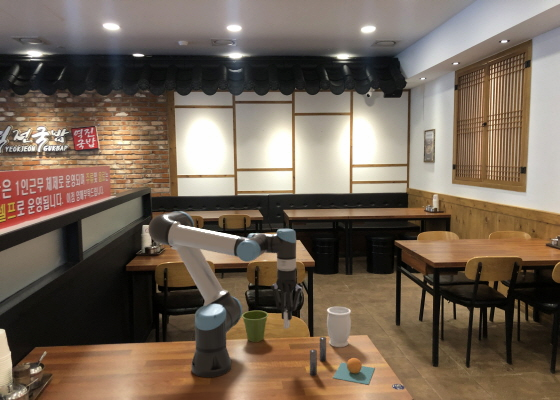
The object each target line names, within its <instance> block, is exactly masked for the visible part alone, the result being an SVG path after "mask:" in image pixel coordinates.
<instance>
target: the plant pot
mask: <svg viewBox="0 0 560 400" xmlns="http://www.w3.org/2000/svg"><path fill="white" fill-rule="evenodd" d="M268 316H269V313H268V312H266V311H263V310H250V311H246V312H242V316H241V318H242V319H243V323H244V327H245V331H246V338H247V340H248V342H251V343H259V342H261V341H263V340H264V338H265V332H266V324H267V320H268Z"/></svg>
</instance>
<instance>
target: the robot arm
mask: <svg viewBox="0 0 560 400" xmlns="http://www.w3.org/2000/svg"><path fill="white" fill-rule="evenodd" d="M148 235H149V238H151V239H152V240H153V241H154V242H156V243H157V244H161V245H165V246H169V247H170V249H172V250H176V252H177V254H178V255H179V257H180V259H181V261H182V262H183V264H184V266H185V268H186V270H187V271H188V273H189V275H190V276H191V278H192V280H193V282H194V283H195V286H196V287H197V290H198V291H199V293H200V294H201V297H202V298H203V300H204V303H203V306H201V307H199V308H197V310H196V311H195V314H194V317H195V318H194V330H195V331H194V336H195V341H194V342H195V350H194V355H193V356H192V357H193V358H192V360H191V363H190V364H191V366H190V368H191V372H192V374H194V375H195V376H197V377H201V378H215V377H220V376H223V375H225V374H227V373H228V372H230V370H232V360H231V357H230V354H229V351H228V348H227V333H228V332H229V331H230V330H231V329H232V328H233V327H235V326H236V325H238V323H239V322H240V320H241V318H242V314H243V306H242V303H241V301H240V300H239V299H238V298H237V297H234V296H232V295H231V293H230V292H229V290H227V289H224V288H223V286H222V285H221V283H220V282H219V280H218V278H217V277H216V274H215V273H214V271H213V269H212V268H211V266H210V264H209V262H208V261H207V259H206V257H205V255H204V254H203V251H208V252H212V253H218V254H222V255H226V256H232V257H237V258H239V259H240V260H241V261H242V262H252V261H254V260H256V259H257V258H259V257H260V256H262V255H264V254H276V268H277V269H276V281H275V283H273V284H271V285H270V288H271V290H272V293H273V297H274V301H275V305H276V310H279V311H281V319H282V320H283V329H286V330H288V329H289V328H290V326H291V325H290V324H291V323H290V321H291V320H292V319H293V312H295V311H296V310H297V308H298V304H299V299H300V295H301V292H302V291H303V289H304V287H303V286H300V285H299V284H298V281H297V236H296V235H297V234H296V230H294V229H291V228H279V229H277V231H276V233H259V232H256V233H253V232H252V233H249V234H248V235H247V237H244V236H239V235H234V234H230V233H224V232H218V231H214V230H208V229H205V228H204V229H203V228H198V227H195V222H194V220H193V218H192V216H191V215H190V214H188V213H187V212H185V211H179V210H177V211H176V210H175V211H171V212H167V213H162V214H159V215H156V216H154V217H153V218H152V219H151V220H150V222H149V224H148ZM202 250H203V251H202ZM294 290H295V293H294V292H293V291H294ZM279 291H280V292H279ZM293 293H294V298H293Z"/></svg>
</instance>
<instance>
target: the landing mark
mask: <svg viewBox="0 0 560 400" xmlns="http://www.w3.org/2000/svg"><path fill="white" fill-rule="evenodd" d="M374 372H375V367H370V366H366V365H365V366H364V365H362V368H361V370H360V372H359V373H356V374H353V373H351V372H350V371H349V370H348V369H347V362H340V364H339V366H338V368H337V370H336V371H335V372H334V375H333V376H332V379H335V380H342V381H345V382H351V383H356V384H357V383H358V384H361V385H362V384H363V385H367V386H369V385H370V381H371V379H372V377H373V374H374Z"/></svg>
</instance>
